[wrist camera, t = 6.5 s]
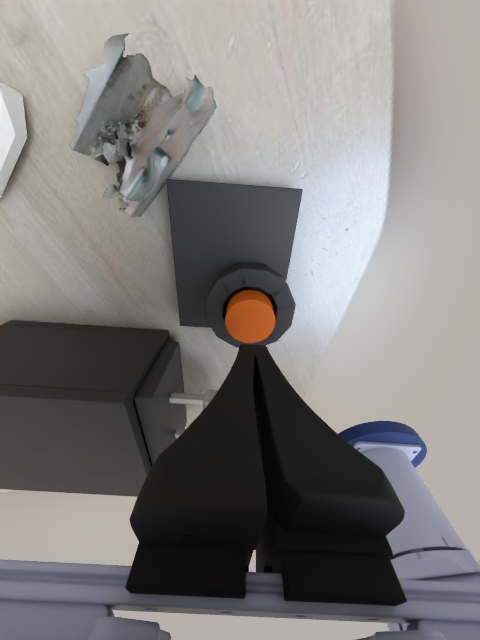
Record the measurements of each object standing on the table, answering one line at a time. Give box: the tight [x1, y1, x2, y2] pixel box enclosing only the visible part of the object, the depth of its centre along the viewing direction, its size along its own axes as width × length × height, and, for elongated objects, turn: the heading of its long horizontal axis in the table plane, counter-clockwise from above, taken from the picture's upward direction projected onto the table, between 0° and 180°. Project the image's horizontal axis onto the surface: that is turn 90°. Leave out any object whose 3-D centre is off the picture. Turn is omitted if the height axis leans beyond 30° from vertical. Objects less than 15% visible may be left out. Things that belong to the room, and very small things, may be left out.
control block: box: [167, 179, 302, 347], centre depth 15 cm, size 10×8×4 cm
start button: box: [225, 290, 275, 343], centre depth 14 cm, size 3×3×2 cm
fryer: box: [0, 320, 170, 497], centre depth 19 cm, size 15×13×8 cm
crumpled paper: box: [69, 33, 216, 217], centre depth 10 cm, size 4×8×7 cm, turn 135°
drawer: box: [132, 342, 218, 465], centre depth 19 cm, size 18×11×6 cm, turn 86°
